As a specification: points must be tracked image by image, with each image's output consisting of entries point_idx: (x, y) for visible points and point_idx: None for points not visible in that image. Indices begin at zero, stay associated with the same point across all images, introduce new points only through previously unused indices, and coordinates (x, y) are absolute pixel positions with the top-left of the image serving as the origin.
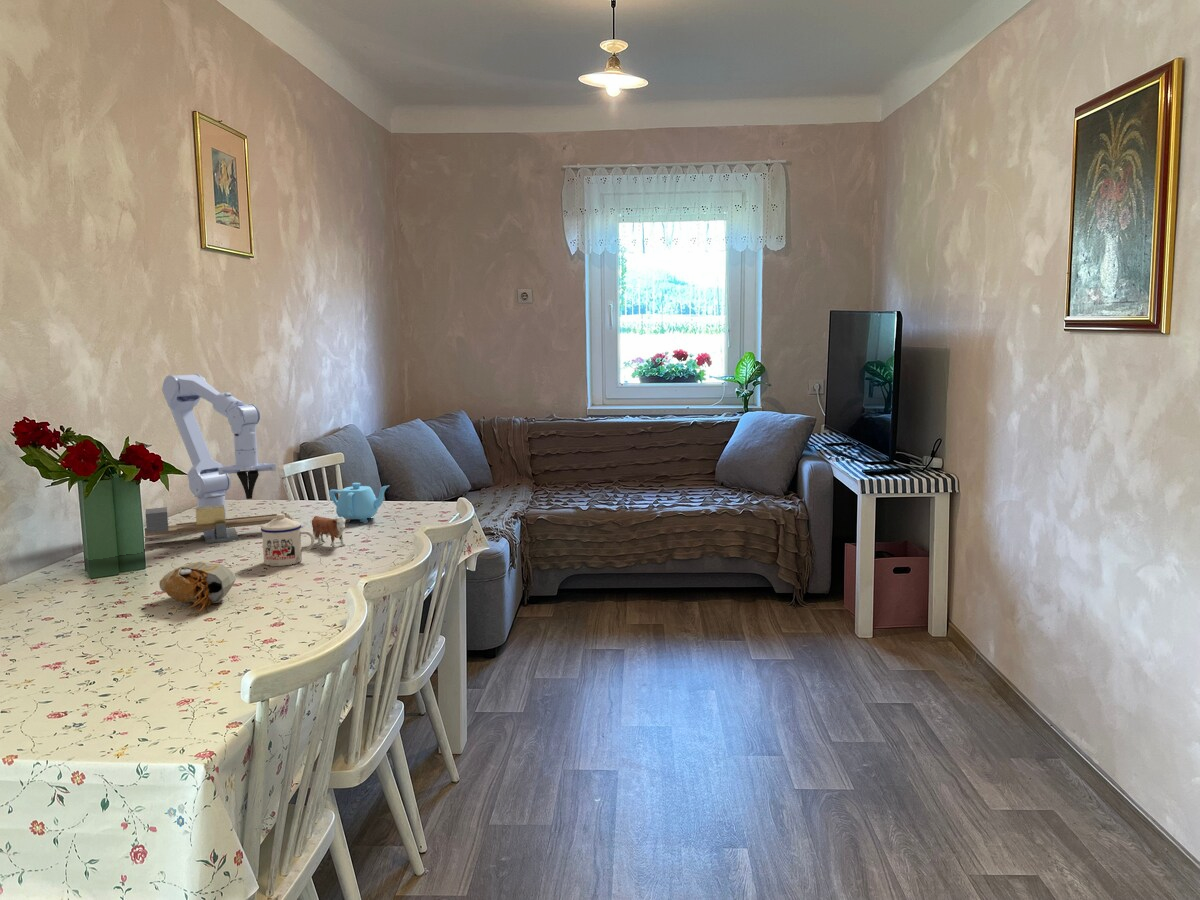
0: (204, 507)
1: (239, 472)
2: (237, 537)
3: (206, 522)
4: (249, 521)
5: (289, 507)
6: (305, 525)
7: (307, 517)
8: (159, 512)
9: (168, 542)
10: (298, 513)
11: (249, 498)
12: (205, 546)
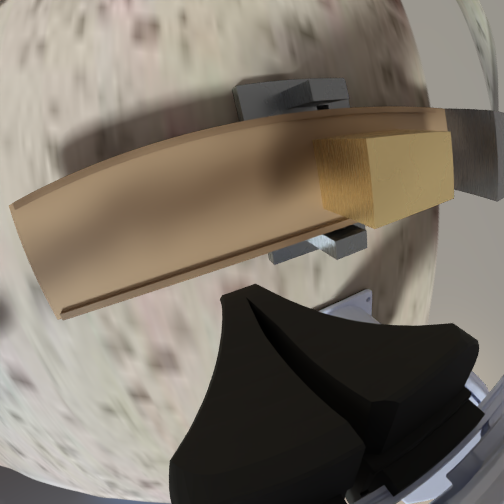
0: (434, 181)
1: (463, 427)
2: (238, 86)
3: (383, 131)
4: (200, 134)
5: None
6: (34, 316)
7: (85, 413)
8: (500, 113)
9: None
10: (133, 448)
11: (240, 290)
12: (328, 44)
